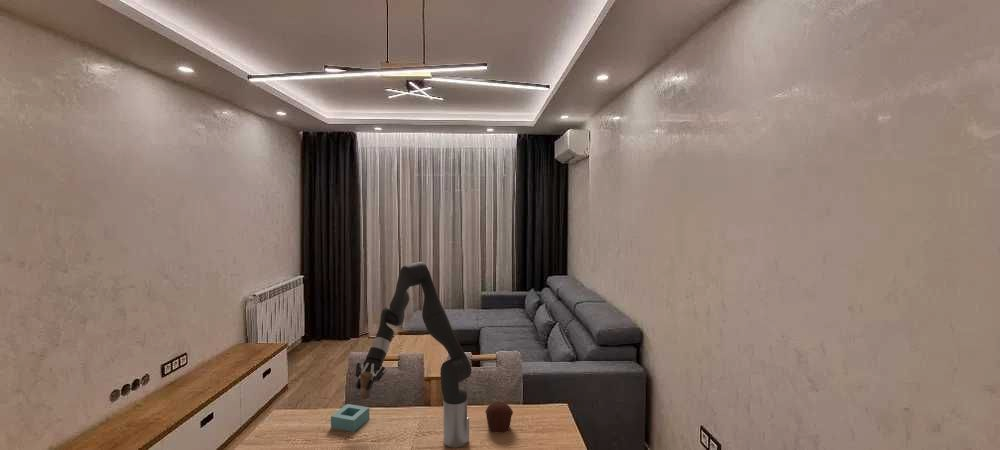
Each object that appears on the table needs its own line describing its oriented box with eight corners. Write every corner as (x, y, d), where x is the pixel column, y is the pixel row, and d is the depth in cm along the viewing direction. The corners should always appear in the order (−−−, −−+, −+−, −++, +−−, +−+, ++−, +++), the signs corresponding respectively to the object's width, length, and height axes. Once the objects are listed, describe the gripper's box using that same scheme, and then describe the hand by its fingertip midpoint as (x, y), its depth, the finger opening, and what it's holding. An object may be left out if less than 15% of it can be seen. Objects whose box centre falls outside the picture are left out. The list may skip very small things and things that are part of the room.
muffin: (479, 425, 184) (480, 402, 184) (500, 417, 191) (500, 394, 190) (497, 438, 175) (497, 414, 174) (518, 428, 182) (518, 405, 181)
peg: (369, 393, 186) (369, 370, 185) (371, 397, 182) (371, 374, 181) (359, 395, 184) (359, 372, 183) (361, 399, 180) (361, 376, 180)
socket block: (347, 414, 193) (347, 403, 192) (369, 418, 189) (369, 407, 189) (331, 427, 182) (330, 416, 182) (354, 432, 179) (353, 420, 179)
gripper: (360, 344, 191) (343, 383, 180) (389, 348, 186) (373, 388, 176) (368, 351, 196) (351, 390, 186) (396, 356, 192) (381, 395, 182)
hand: (362, 389), depth 181 cm, fingers closed on peg, 4 cm apart
